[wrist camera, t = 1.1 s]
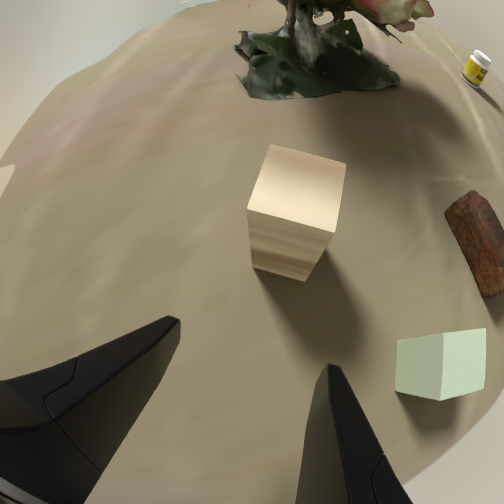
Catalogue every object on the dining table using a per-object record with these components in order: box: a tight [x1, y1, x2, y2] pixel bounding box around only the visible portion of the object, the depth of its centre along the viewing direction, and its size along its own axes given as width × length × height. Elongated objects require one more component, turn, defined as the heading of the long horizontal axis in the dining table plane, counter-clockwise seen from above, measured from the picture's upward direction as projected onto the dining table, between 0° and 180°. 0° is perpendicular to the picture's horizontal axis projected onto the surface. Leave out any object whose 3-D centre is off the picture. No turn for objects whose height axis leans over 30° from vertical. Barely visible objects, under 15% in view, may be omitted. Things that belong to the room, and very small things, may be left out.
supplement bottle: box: [461, 50, 491, 88], centre depth 31 cm, size 5×5×8 cm
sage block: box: [395, 328, 486, 401], centre depth 16 cm, size 4×4×7 cm
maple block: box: [247, 144, 346, 282], centre depth 19 cm, size 4×4×10 cm
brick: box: [445, 190, 504, 299], centre depth 21 cm, size 11×4×5 cm, turn 21°
